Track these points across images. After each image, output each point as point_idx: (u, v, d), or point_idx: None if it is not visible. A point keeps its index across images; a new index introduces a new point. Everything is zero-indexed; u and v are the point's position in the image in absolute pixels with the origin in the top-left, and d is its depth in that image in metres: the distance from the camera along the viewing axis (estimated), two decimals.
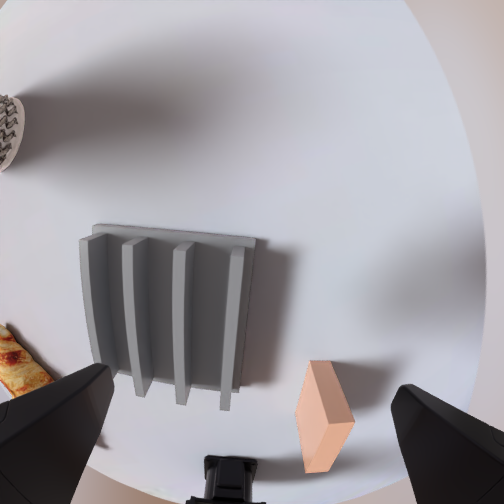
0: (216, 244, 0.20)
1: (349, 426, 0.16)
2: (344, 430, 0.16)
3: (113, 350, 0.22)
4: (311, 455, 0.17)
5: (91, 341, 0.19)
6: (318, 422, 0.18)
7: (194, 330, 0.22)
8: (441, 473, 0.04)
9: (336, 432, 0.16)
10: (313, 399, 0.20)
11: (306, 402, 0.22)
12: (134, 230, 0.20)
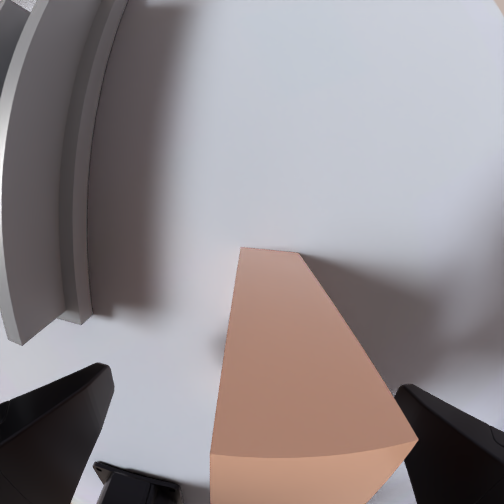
0: None
1: (379, 467, 0.02)
2: (343, 492, 0.02)
3: None
4: None
5: None
6: None
7: None
8: (441, 473, 0.04)
9: (290, 502, 0.02)
10: None
11: None
12: None
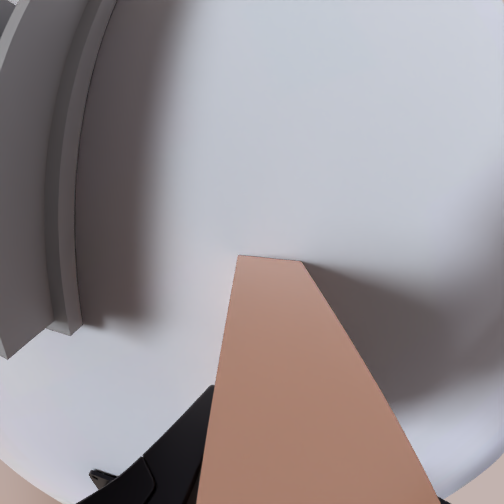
0: None
1: None
2: None
3: None
4: None
5: None
6: None
7: None
8: None
9: None
10: None
11: None
12: None
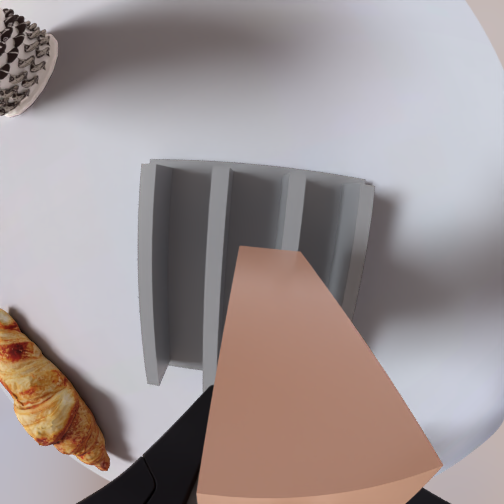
0: (322, 181, 0.16)
1: (396, 497, 0.01)
2: None
3: (166, 333, 0.17)
4: None
5: (143, 317, 0.14)
6: None
7: None
8: None
9: None
10: None
11: None
12: (214, 162, 0.15)
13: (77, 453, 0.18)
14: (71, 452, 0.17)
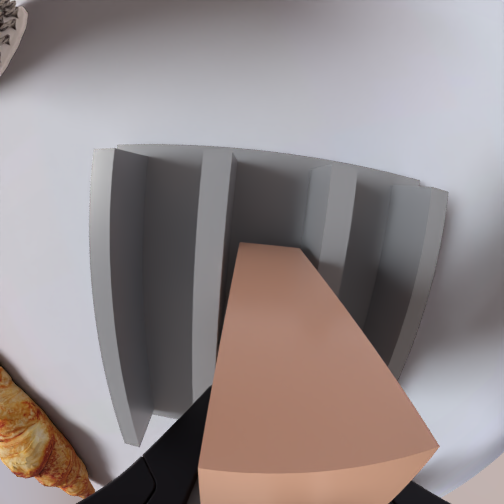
0: (365, 180, 0.10)
1: (394, 479, 0.02)
2: None
3: (147, 382, 0.12)
4: None
5: (108, 373, 0.09)
6: None
7: None
8: None
9: None
10: None
11: None
12: (208, 148, 0.10)
13: (58, 486, 0.13)
14: (51, 485, 0.12)
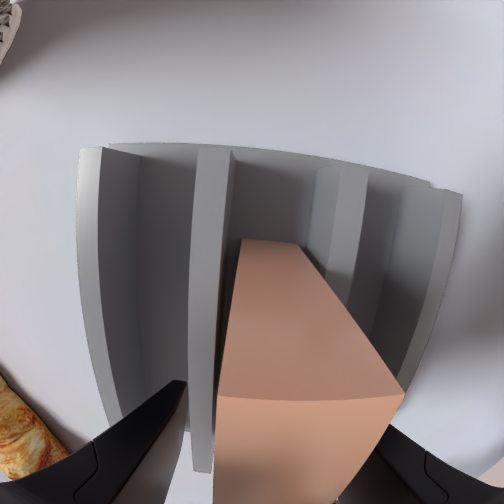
0: (373, 181, 0.10)
1: (371, 422, 0.02)
2: (338, 449, 0.03)
3: (142, 392, 0.11)
4: None
5: (101, 386, 0.08)
6: None
7: None
8: (363, 497, 0.04)
9: (289, 458, 0.03)
10: None
11: None
12: (205, 146, 0.09)
13: None
14: None
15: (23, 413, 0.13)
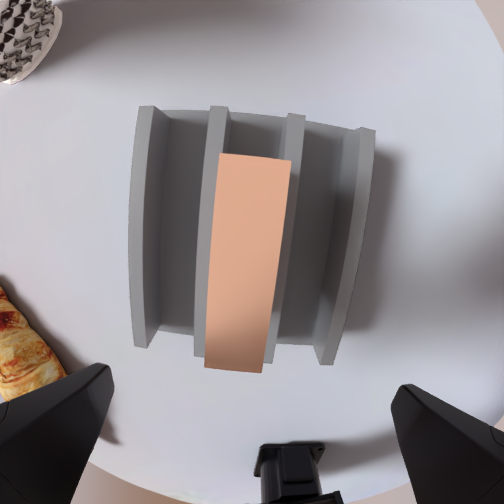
0: (322, 132, 0.15)
1: (279, 174, 0.08)
2: (268, 189, 0.08)
3: (157, 292, 0.16)
4: (208, 301, 0.09)
5: (131, 267, 0.13)
6: None
7: None
8: (441, 473, 0.04)
9: (247, 193, 0.08)
10: None
11: None
12: None
13: None
14: None
15: (41, 346, 0.18)
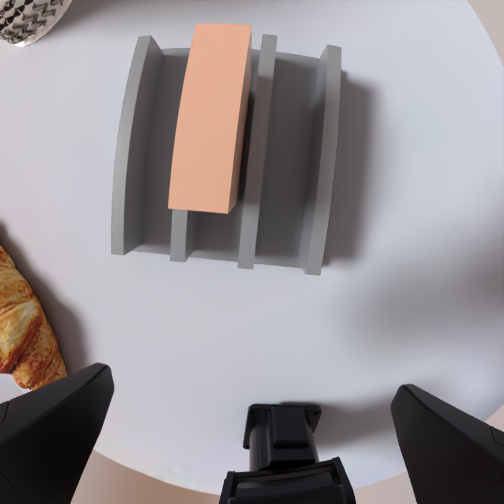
0: (297, 61, 0.15)
1: (241, 33, 0.07)
2: (233, 42, 0.08)
3: (141, 206, 0.16)
4: (178, 137, 0.09)
5: (117, 166, 0.13)
6: None
7: (266, 162, 0.16)
8: (441, 473, 0.04)
9: (215, 45, 0.08)
10: None
11: None
12: None
13: (35, 386, 0.17)
14: (28, 382, 0.16)
15: (24, 286, 0.18)
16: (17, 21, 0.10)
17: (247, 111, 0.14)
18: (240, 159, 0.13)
